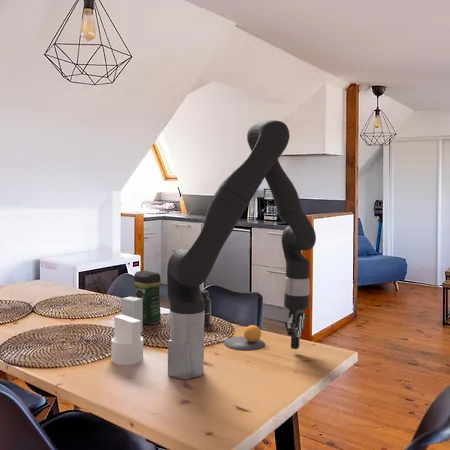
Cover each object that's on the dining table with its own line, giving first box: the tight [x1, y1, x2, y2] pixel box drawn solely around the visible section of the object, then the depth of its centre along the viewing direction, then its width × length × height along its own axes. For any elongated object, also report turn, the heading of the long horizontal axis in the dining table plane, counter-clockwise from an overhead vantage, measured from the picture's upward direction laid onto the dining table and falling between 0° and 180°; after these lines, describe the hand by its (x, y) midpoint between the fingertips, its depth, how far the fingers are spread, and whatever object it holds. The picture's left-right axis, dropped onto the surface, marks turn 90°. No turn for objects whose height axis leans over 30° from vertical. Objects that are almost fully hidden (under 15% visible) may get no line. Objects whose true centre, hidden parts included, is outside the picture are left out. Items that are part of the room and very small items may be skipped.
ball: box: [243, 324, 262, 343], centre depth 163 cm, size 6×6×6 cm
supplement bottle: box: [200, 289, 212, 326], centre depth 183 cm, size 7×7×12 cm
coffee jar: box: [133, 270, 162, 325], centre depth 183 cm, size 10×8×19 cm
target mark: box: [223, 336, 266, 351], centre depth 162 cm, size 13×13×1 cm
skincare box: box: [121, 296, 144, 332], centre depth 170 cm, size 6×4×12 cm
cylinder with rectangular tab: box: [110, 314, 144, 366], centre depth 145 cm, size 9×9×12 cm
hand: (295, 348), depth 154 cm, fingers closed
